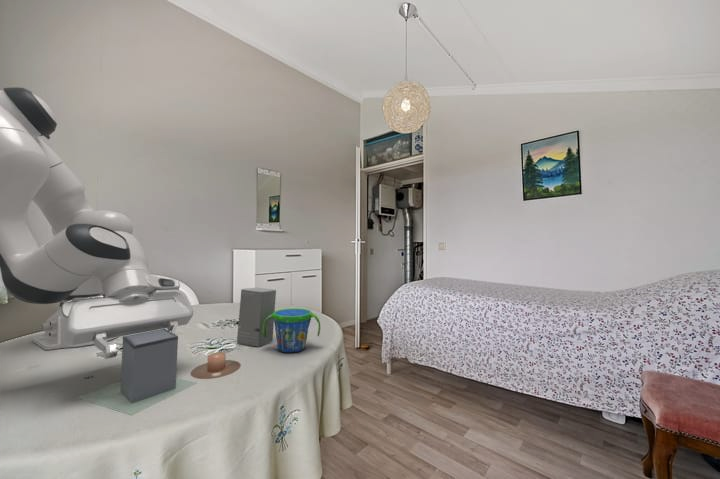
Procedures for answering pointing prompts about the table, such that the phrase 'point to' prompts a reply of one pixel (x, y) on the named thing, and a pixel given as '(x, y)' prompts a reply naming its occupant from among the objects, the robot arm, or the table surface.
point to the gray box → (148, 364)
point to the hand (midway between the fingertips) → (143, 349)
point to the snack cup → (291, 328)
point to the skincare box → (256, 316)
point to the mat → (119, 402)
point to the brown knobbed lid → (215, 367)
